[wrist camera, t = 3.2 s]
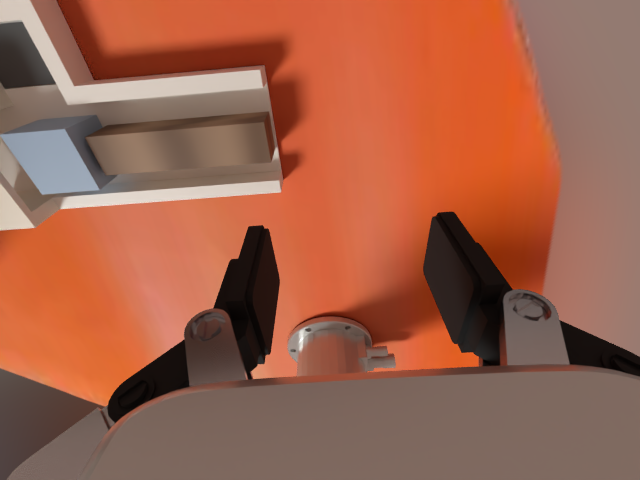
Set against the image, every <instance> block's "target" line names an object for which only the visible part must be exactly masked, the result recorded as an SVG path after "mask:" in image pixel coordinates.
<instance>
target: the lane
mask: <svg viewBox="0 0 640 480" xmlns="http://www.w3.org/2000/svg"><path fill="white" fill-rule="evenodd" d="M46 84H49V85H46ZM35 85H38V86H35ZM24 86H27V87H24ZM13 87H16V88H13ZM267 111H269V114H270V120H271V126H272V132H273V138H274V144H275V151H274V155H273V158H272V162H270V163H258V164H245V165H233V166H220V167H207V168H195V169H182V170H170V171H157V172H144V173H132V174H119V175H118V176H117V177H115V178H114V179H113V180H112V181H110V182H109V183H108V184H107V185H106V186H104V187H103V188H102V189H101V190H95V191H82V192H69V193H56V194H43V195H42V194H41V192H40V191H39V190H38V188H37V187H36V185H35V184H34V183H33V181H32V180H31V178H30V177H29V176H28V174H27V173H26V171H25V170H24V169H23V167H22V166H21V164H20V163H19V162H18V160H17V159H16V157H15V156H14V155H13V153H12V152H11V150H10V149H9V148H8V146H7V145H6V143H5V142H4V141H3V139H2V138H1V136H0V230H12V229H25V228H36V227H37V226H38V225H40V224H41V223H42V222H44V221H45V220H46V219H47V218H49V217H50V216H51V215H53V214H54V213H55V212H57V211H58V210H59V209H67V208H81V207H94V206H107V205H120V204H133V203H147V202H160V201H173V200H186V199H199V198H213V197H226V196H239V195H252V194H265V193H279V192H281V190H282V185H283V175H282V169H281V162H280V156H279V150H278V144H277V138H276V132H275V126H274V120H273V113H272V107H271V101H270V95H269V89H268V83H267V77H266V71H265V65H258V66H247V67H236V68H225V69H214V70H203V71H192V72H181V73H170V74H159V75H148V76H137V77H126V78H115V79H104V80H94V79H93V77H92V75H91V73H90V71H89V68H88V66H87V64H86V62H85V60H84V58H83V56H82V54H81V51H80V49H79V47H78V45H77V43H76V41H75V39H74V37H73V35H72V32H71V30H70V28H69V26H68V24H67V22H66V20H65V18H64V16H63V13H62V11H61V9H60V7H59V5H58V3H57V1H56V0H0V134H2V133H5V132H8V131H10V130H13V129H16V128H18V127H21V126H24V125H26V124H29V123H31V122H34V121H37V120H41V119H52V118H64V117H75V116H87V115H97V117H98V119H99V121H100V123H101V125H102V127H105V126H107V125H115V124H127V123H139V122H150V121H162V120H174V119H185V118H197V117H209V116H221V115H232V114H244V113H256V112H267Z"/></svg>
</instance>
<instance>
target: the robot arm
mask: <svg viewBox="0 0 640 480" xmlns="http://www.w3.org/2000/svg"><path fill="white" fill-rule="evenodd" d="M423 271H424V275H425V278H426V280H427V283H428V285H429V287H430V290H431V292H432V294H433V297H434V299H435V302H436V304H437V306H438V309H439V311H440V313H441V316H442V318H443V321H444V323H445V325H446V328H447V330H448V332H449V335H450V337H451V340H452V342H453V343H454V344H458V346H459V348H460V350H461V352H462V353H465V352H473V353H474V354H475V355H477V356H479V367H461V368H441V369H421V370H402V371H384V372H367V371H373V370H374V368H395V366H396V364H395V357H394V354H393V353H392V354H388V350H387V346H377V347H372V340H371V336H370V333H369V332H368V330H367V329H366V328H365V327H364V326H363V325H362V324H360V323H358V322H356V321H354V320H351V319H348V318H343V317H334V316H329V317H319V318H314V319H311V320H308V321H306V322H304V323H302V324H300V325H299V326H297V327H296V328H295V329H294V330H293V331H292V332H291V334H290V336H289V339H288V352H289V354H290V356H291V357H292V358H293V359H294V360H295V361H296V362H297V376H296V377H280V378H264V379H253V376H252V373H251V371H252V370H253V369H254V368H255V367H257V364H264V363H265V356H266V355H269V354H270V353H271V346H272V338H273V331H274V323H275V315H276V308H277V300H278V292H279V284H280V279H279V273H278V269H277V264H276V260H275V255H274V250H273V246H272V241H271V237H270V232H269V229H264V227H263V225H261V226H249V227H248V230H247V233H246V236H245V239H244V243H243V246H242V249H241V252H240V255H239V258H238V259H232V260H230V262H229V265H228V267H227V270H226V273H225V276H224V279H223V282H222V285H221V288H220V291H219V293H218V296H217V299H216V302H215V305H214V308H213V309H208V310H204V311H202V312H200V313H198V314H197V315H195V316H194V317H193V318H192V319H191V320H190V321H189V322H188V323H187V326H186V328H185V332H184V338H185V339H184V340H183V341H182V342H180V343H179V344H177V345H176V346H174V347H173V348H171V349H170V350H169V351H167V352H166V353H164V354H163V355H161V356H160V357H159V358H157V359H156V360H154V361H153V362H151V363H150V364H148V365H147V366H146V367H144V368H143V369H141V370H140V371H138V372H137V373H135V374H134V375H133V376H131V377H130V378H128V379H127V380H126V381H124V382H123V383H122V384H121V385H120V386H119V387H118V388H117V389H116V390H115V392H114V393H113V395H112V396H111V398H110V400H109V404H108V405H107V406H106V407H105V408H103V409H102V410H100V409H99V408H97V409H96V410H94V411H93V412H91V413H90V414H88V415H87V416H86V417H84V418H83V419H82V420H80V421H79V422H77V423H76V424H75V425H73V426H72V427H71V428H69V429H68V430H67V431H65V432H64V433H62V434H61V435H60V436H58V437H57V438H56V439H54V440H53V441H51V442H50V443H49V444H47V445H46V446H45V447H43V448H42V449H40V450H39V451H38V452H36V453H35V454H34V455H32V456H31V457H29V458H28V459H27V460H25V461H24V462H23V463H22V464H21V465H20V466H18V467H17V468H16V469H15V470H14V471H13V472H12V474H11V475H10V476H9V477H8V479H7V480H640V357H639V356H637V355H635V354H633V353H631V352H629V351H627V350H625V349H623V348H620V347H618V346H616V345H614V344H612V343H609V342H607V341H605V340H603V339H600V338H598V337H596V336H594V335H592V334H589V333H587V332H585V331H582V330H580V329H578V328H576V327H573V326H572V325H569V324H567V323H565V322H562V321H560V320H559V317H558V313H557V310H556V308H555V306H554V305H553V304H552V303H551V302H550V301H549V300H547V299H546V298H545V297H543V296H541V295H539V294H537V293H535V292H532V291H528V290H521V289H518V290H513V289H512V288H511V287H510V285H509V284H508V283H507V281H506V280H505V278H504V277H503V276H502V274H501V273H500V271H499V270H498V269H497V267H496V266H495V264H494V263H493V262H492V260H491V259H490V258H489V256H488V255H487V253H486V252H485V251H484V249H483V248H482V246H481V245H480V244H479V243H476V242H475V241H474V239H473V238H472V237H471V235H470V234H469V232H468V231H467V230H466V228H465V227H464V225H463V224H462V223H461V221H460V220H459V218H458V217H457V215H456V214H455V213H454V212H441V213H437V215H436V216H435V217H433V218H432V221H431V226H430V232H429V238H428V243H427V249H426V255H425V261H424V266H423Z"/></svg>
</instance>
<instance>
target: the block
mask: <svg viewBox="0 0 640 480" xmlns="http://www.w3.org/2000/svg"><path fill="white" fill-rule="evenodd" d="M101 128H103V127H102V125H101V123H100V121H99V119H98V117H97V115H87V116H75V117H64V118H52V119H41V120H37V121H34V122H31V123H29V124H26V125H24V126H21V127H18V128H16V129H13V130H10V131H8V132H5V133H2V134H0V136H1V138H2V139H3V141H4V142H5V143H6V145H7V146H8V148H9V149H10V150H11V152H12V153H13V155H14V156H15V157H16V159H17V160H18V162H19V163H20V164H21V166H22V167H23V169H24V170H25V171H26V173H27V174H28V176H29V177H30V178H31V180H32V181H33V183H34V184H35V185H36V187H37V188H38V190H39V191H40V192H41V194H42V195H43V194H56V193H69V192H82V191H95V190H101V189H102V188H103V187H104V186H106V185H107V184H108V183H109V182H110V181H112V180H113V179H114V178H115V177H117V176H118V175H105V174H104V172H103V170H102V168H101V166H100V164H99V163H98V161H97V159H96V157H95V155H94V154H93V152H92V150H91V148H90V146H89V144H88V143H87V141H86V139H85V137H86V136H88V135H90V134H92V133H94V132H96V131H97V130H99V129H101Z"/></svg>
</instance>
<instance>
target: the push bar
mask: <svg viewBox="0 0 640 480" xmlns="http://www.w3.org/2000/svg"><path fill="white" fill-rule="evenodd" d="M85 139H86V141H87V143H88V144H89V146H90V148H91V150H92V152H93V154H94V155H95V157H96V159H97V161H98V163H99V164H100V166H101V168H102V170H103V172H104V174H105V175H119V174H132V173H144V172H157V171H170V170H182V169H195V168H207V167H220V166H233V165H245V164H258V163H270V162H272V158H273V155H274V151H275V144H274V138H273V132H272V126H271V120H270V114H269V111H267V112H256V113H244V114H232V115H221V116H209V117H197V118H185V119H174V120H162V121H150V122H139V123H127V124H115V125H107V126H105V127H103V128H101V129H99V130H97V131H96V132H94V133H92V134H90V135H88V136H86V137H85Z"/></svg>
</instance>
